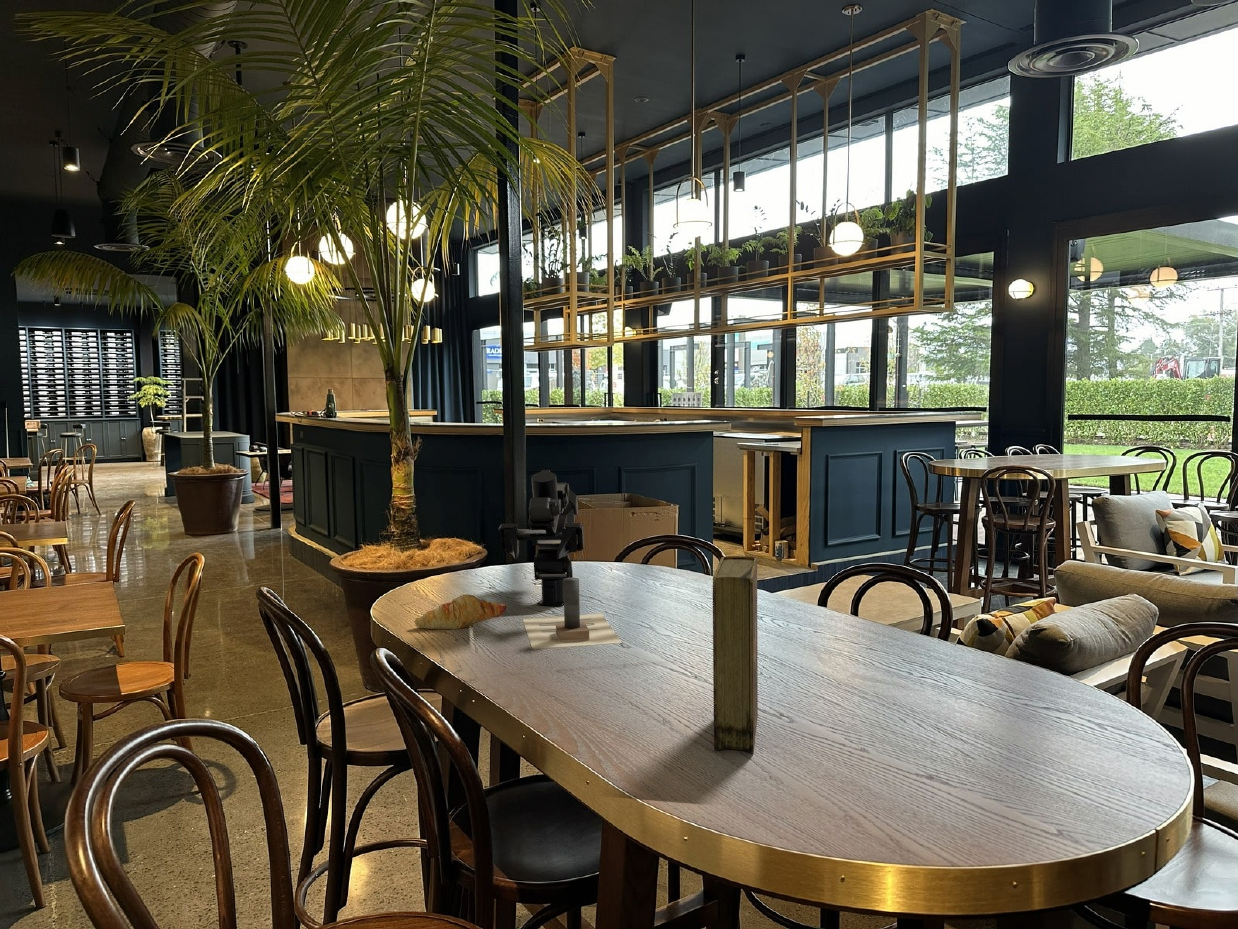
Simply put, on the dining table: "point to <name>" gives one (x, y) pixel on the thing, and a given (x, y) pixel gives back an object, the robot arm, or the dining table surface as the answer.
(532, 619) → the birch board
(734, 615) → the book
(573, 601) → the grey post on base
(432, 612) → the croissant
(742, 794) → the dining table surface
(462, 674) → the dining table surface
